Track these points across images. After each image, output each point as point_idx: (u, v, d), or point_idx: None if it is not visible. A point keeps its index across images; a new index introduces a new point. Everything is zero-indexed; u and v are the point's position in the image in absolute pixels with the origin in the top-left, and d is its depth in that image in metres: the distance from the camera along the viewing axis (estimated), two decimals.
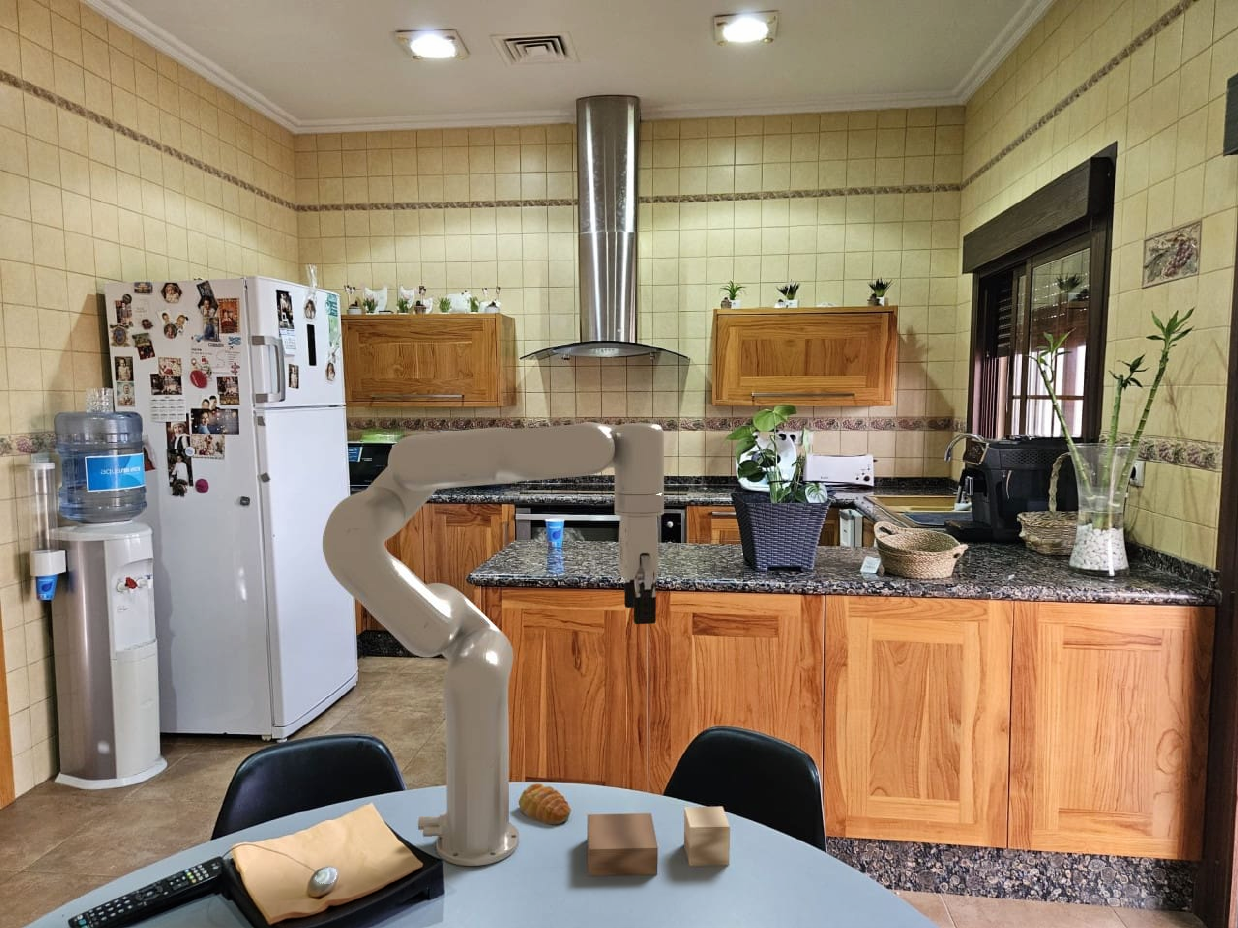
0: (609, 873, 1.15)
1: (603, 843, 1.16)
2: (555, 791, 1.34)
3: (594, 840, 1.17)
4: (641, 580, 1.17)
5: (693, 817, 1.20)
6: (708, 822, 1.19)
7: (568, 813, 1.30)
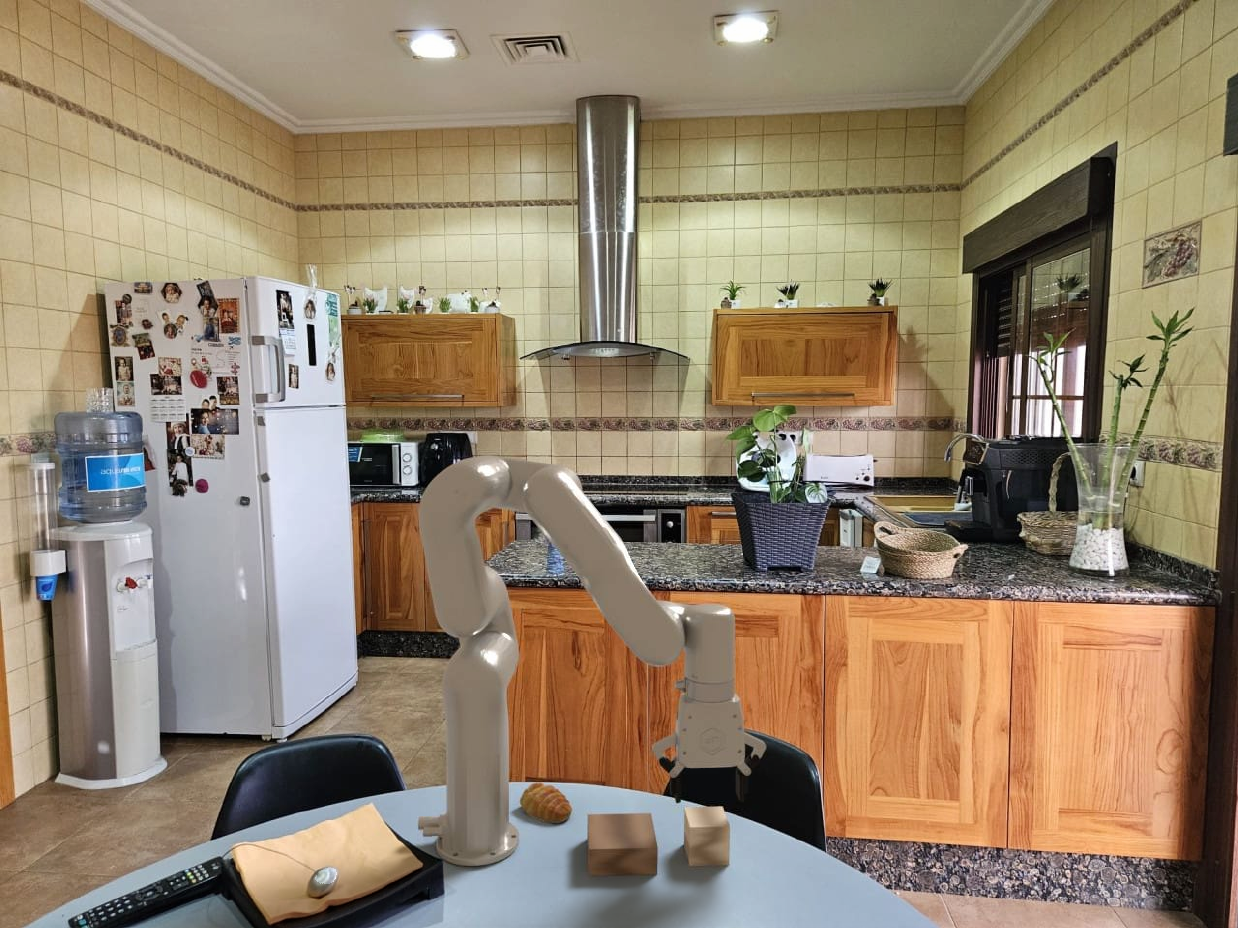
0: (609, 873, 1.15)
1: (603, 843, 1.16)
2: (556, 790, 1.35)
3: (594, 840, 1.17)
4: None
5: (693, 817, 1.20)
6: (708, 822, 1.19)
7: (569, 812, 1.30)
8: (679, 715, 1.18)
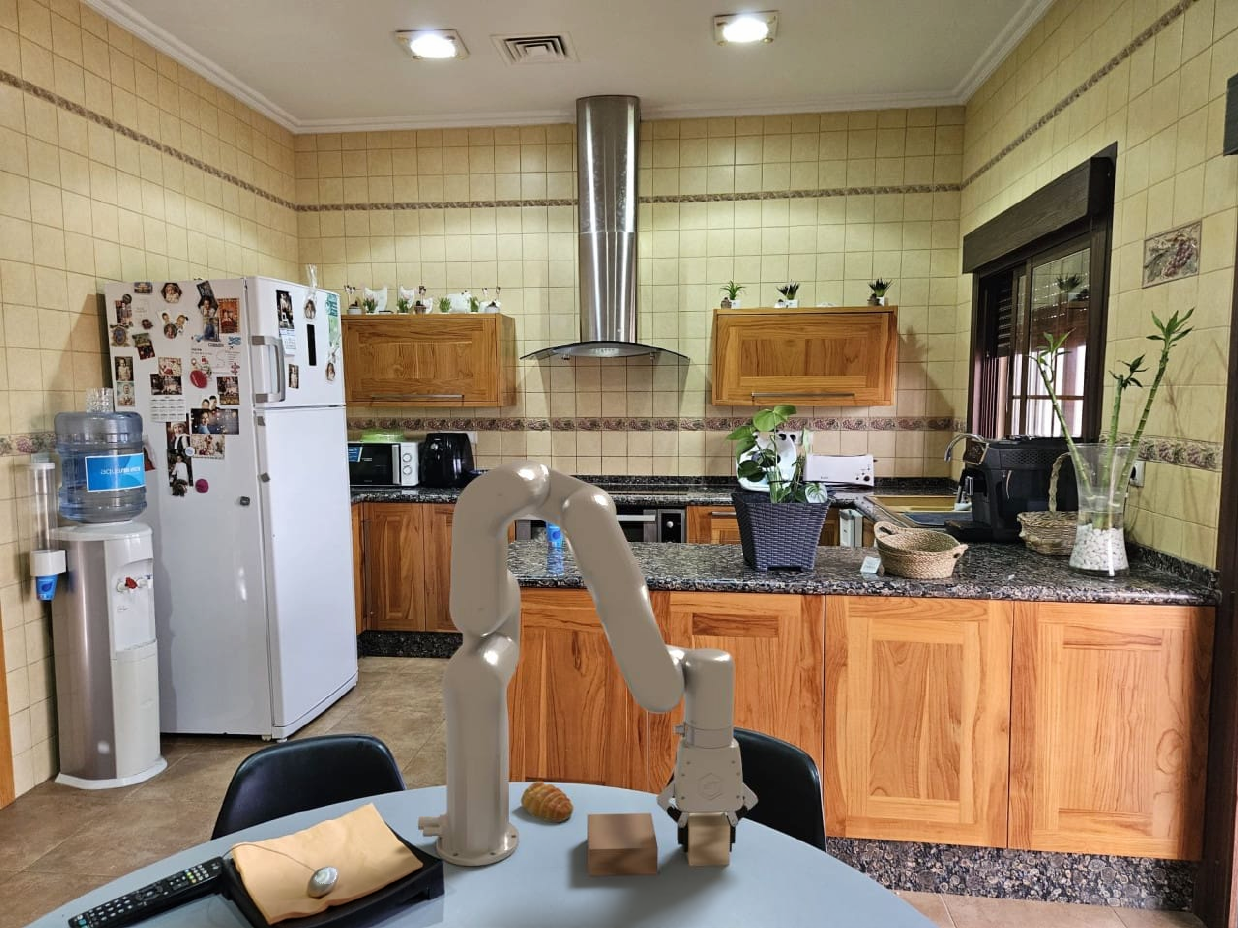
0: (609, 873, 1.15)
1: (603, 843, 1.16)
2: (557, 789, 1.35)
3: (594, 840, 1.17)
4: None
5: (693, 816, 1.20)
6: (708, 821, 1.19)
7: (571, 810, 1.31)
8: (678, 760, 1.18)
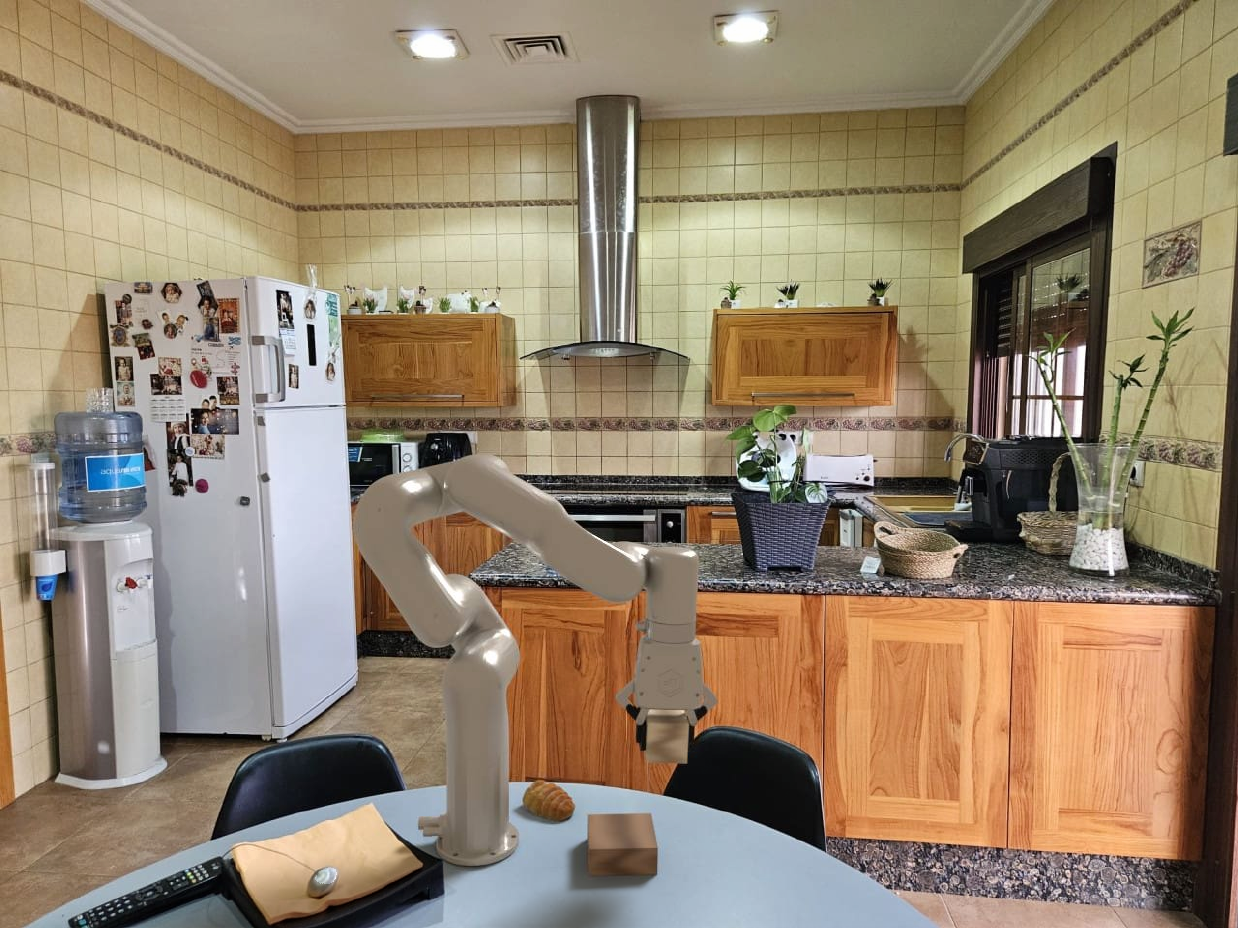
0: (609, 873, 1.15)
1: (603, 843, 1.16)
2: (558, 787, 1.36)
3: (594, 840, 1.17)
4: None
5: (653, 715, 1.19)
6: (667, 719, 1.18)
7: (573, 808, 1.31)
8: (638, 656, 1.17)
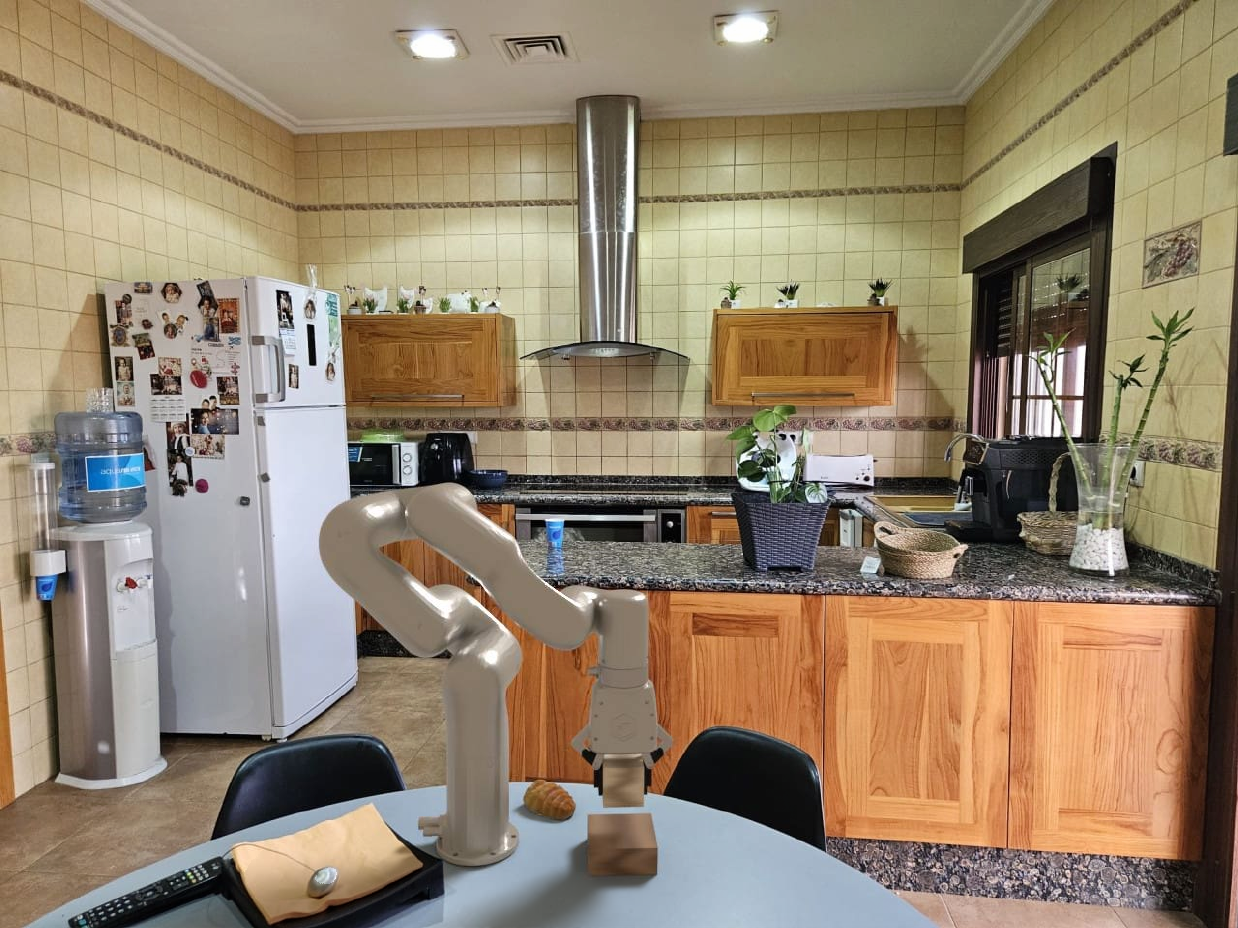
0: (609, 873, 1.15)
1: (603, 843, 1.16)
2: (559, 787, 1.36)
3: (594, 840, 1.17)
4: None
5: (609, 759, 1.19)
6: (623, 763, 1.17)
7: (574, 808, 1.32)
8: (591, 701, 1.17)
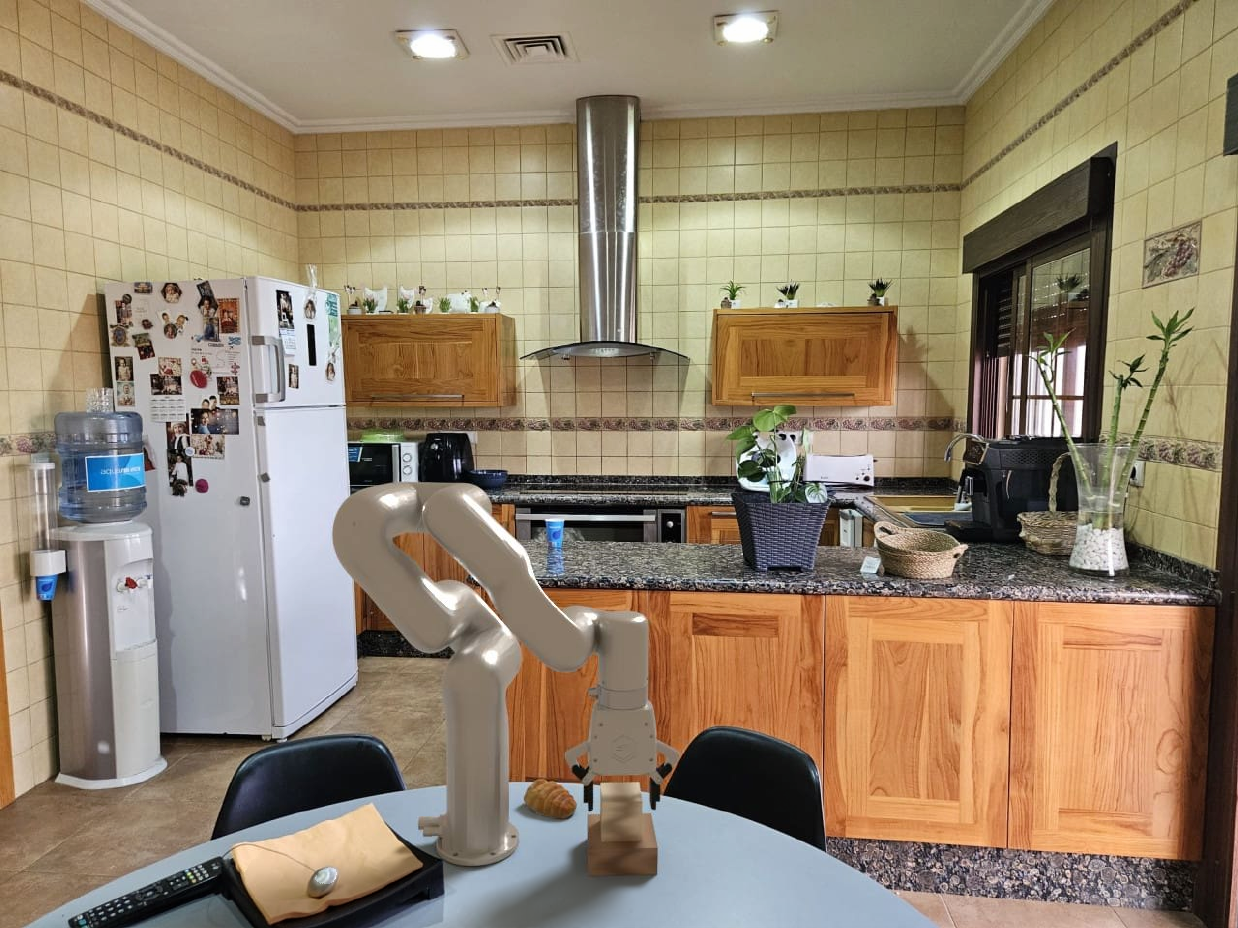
0: (609, 873, 1.15)
1: (603, 843, 1.16)
2: (559, 786, 1.36)
3: (594, 840, 1.17)
4: None
5: (607, 792, 1.19)
6: (621, 797, 1.18)
7: (575, 806, 1.32)
8: (591, 722, 1.17)
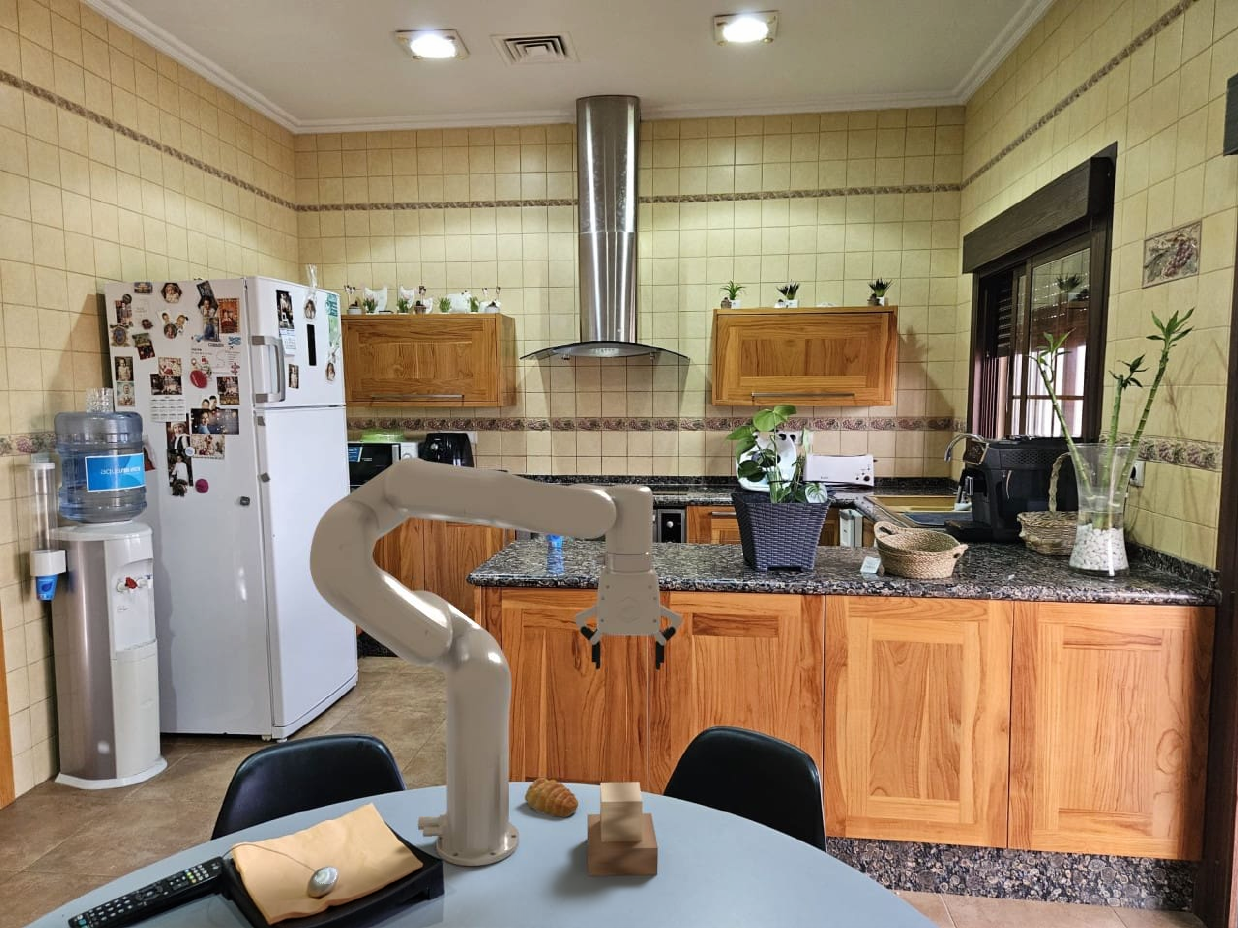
0: (609, 873, 1.15)
1: (603, 843, 1.16)
2: (561, 784, 1.37)
3: (594, 840, 1.17)
4: None
5: (607, 792, 1.19)
6: (621, 797, 1.18)
7: (577, 805, 1.33)
8: (598, 586, 1.26)
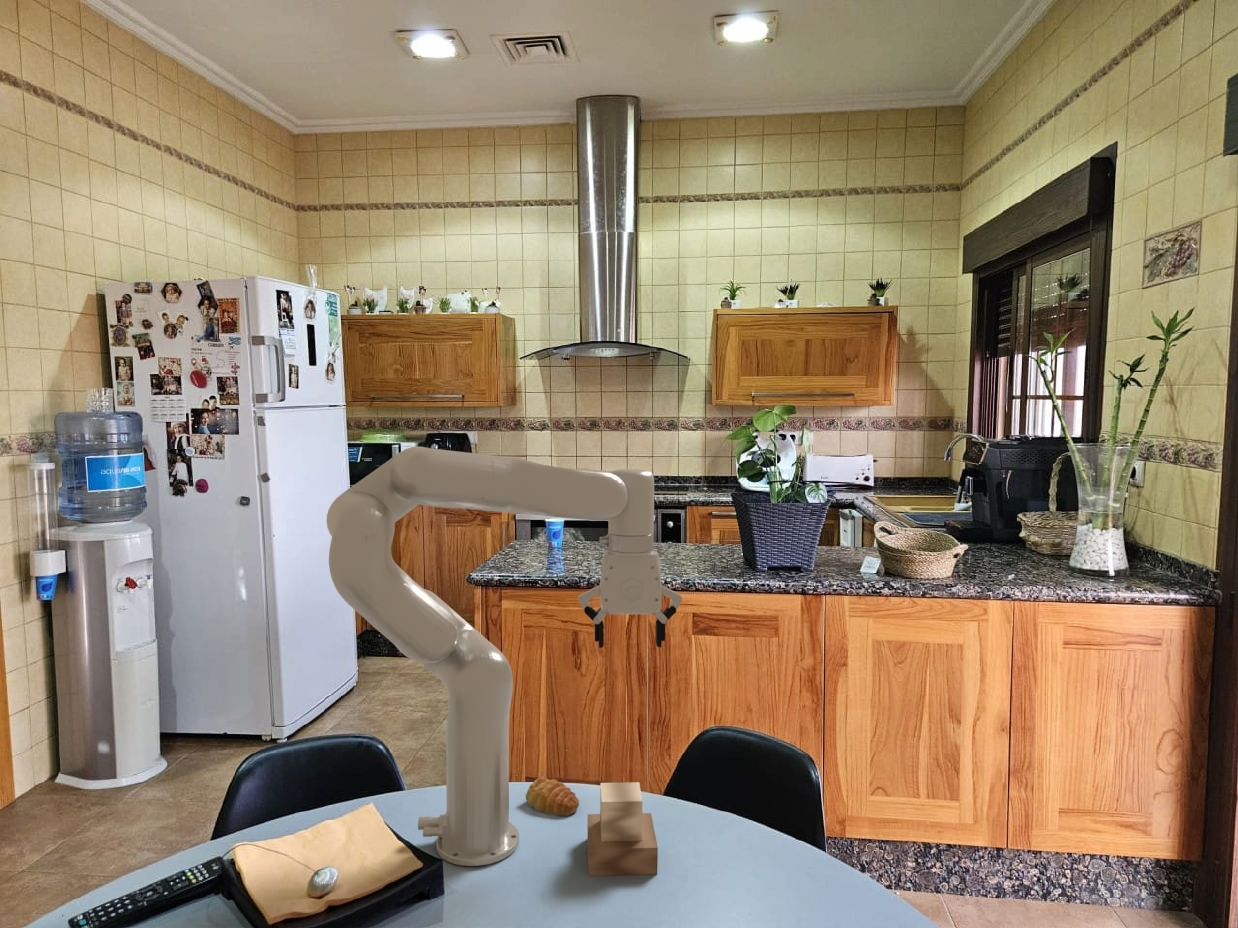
0: (609, 873, 1.15)
1: (603, 843, 1.16)
2: (561, 783, 1.37)
3: (594, 840, 1.17)
4: None
5: (607, 792, 1.19)
6: (621, 797, 1.18)
7: (578, 804, 1.33)
8: (602, 567, 1.30)
